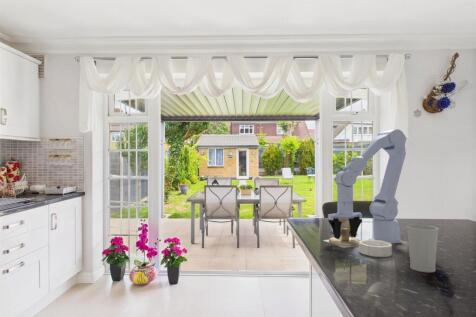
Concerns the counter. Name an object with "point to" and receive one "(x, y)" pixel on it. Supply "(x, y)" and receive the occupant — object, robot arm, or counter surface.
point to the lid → (344, 239)
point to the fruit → (344, 224)
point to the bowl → (375, 248)
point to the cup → (422, 247)
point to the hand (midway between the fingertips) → (345, 237)
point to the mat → (338, 245)
